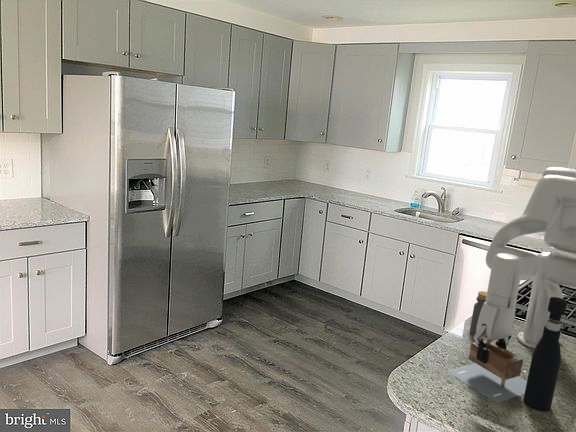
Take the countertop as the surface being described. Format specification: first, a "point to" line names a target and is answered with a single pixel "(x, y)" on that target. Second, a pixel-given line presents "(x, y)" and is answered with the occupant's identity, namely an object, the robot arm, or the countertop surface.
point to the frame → (498, 361)
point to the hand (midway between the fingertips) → (490, 358)
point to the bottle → (477, 311)
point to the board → (490, 382)
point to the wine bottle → (546, 360)
